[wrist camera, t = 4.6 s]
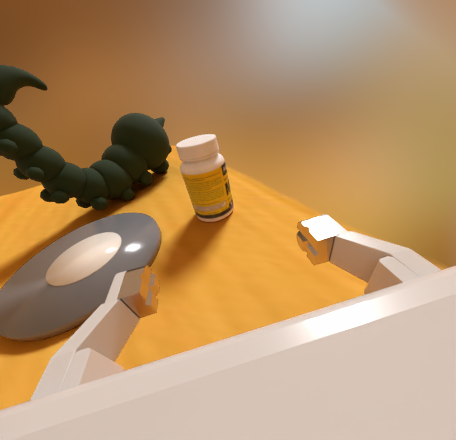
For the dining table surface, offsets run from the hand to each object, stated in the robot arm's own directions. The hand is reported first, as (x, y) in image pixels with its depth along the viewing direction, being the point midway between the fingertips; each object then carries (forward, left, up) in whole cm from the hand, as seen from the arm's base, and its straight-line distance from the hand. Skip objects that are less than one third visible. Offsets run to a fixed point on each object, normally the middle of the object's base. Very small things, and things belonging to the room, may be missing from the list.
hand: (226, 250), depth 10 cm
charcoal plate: (-14, +9, -5) cm, 17 cm away
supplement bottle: (0, +12, -5) cm, 13 cm away
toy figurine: (-13, +27, -5) cm, 30 cm away
